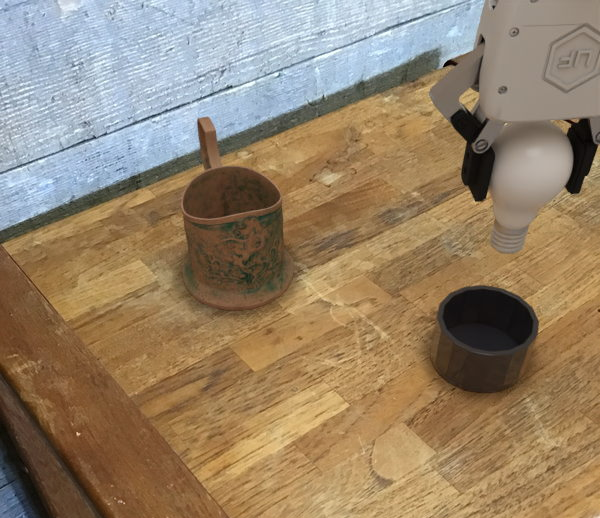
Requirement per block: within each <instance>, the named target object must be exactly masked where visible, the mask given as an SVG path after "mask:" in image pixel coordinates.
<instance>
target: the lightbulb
mask: <svg viewBox="0 0 600 518" xmlns="http://www.w3.org/2000/svg"><path fill="white" fill-rule="evenodd" d="M491 147H492V149H493V151H494V153H495V161H494V165H493V170H492V174H491V179H490V183H489V188H488V192H487V193H488V194H489V196H490V198H491V200H492V214H493V217H494V219H493V224H492V230H491V234H490V238H489V245H490V247H491V248H492V249H493V250H494V251H496V252H498V253H500V254H504V255H514V254H517V253H519V252H521V251H522V250H523V248H524V246H525V242H526V239H527V235H528V232H529V228H530V225H531V224H532V223H533V222H534V220H536V217H537V216H538V214H539V212H540V210H541V209H542V208H543V207H545V206H546V205H547V204H550V202H552V201H553V200H554V199H555V198H557V196H558V195H559V194H561V192H562V191H564V188H565V186H566V184H567V182H568V180H569V178H570V176H571V173H572V169H573V149H572V145H571V143H570V140H569V138H568V137H567V133H566V132H565V131H564V130H563V129H562V128H561V127H560V126H559V125H558V124H556V123H555V122H554V121H541V122H526V123H505V125H504V126H503V128H502V129H501V131H500V132H499V134H498V135H497V137H496V138H495V140H494V141H493V143H492V144H491Z"/></svg>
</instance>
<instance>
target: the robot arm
mask: <svg viewBox="0 0 600 518" xmlns="http://www.w3.org/2000/svg"><path fill="white" fill-rule="evenodd" d="M469 89H471V90H473V91H474V92H477V93H478V99H477V100H476V102H475V104H474V105H473V107H472V109H471V110H469V109H468V108H467V107H466V106H465V104H463V103H462V102H461V101H460V97H461V96H463V95H464V93H465V92H467V91H468V90H469ZM428 96H429V98H430V100H431V101H432V104H433V106H434V107H435V108H436V110H437V111H438V112H439V113H440V114H441V115H442V116H443V117H444V118H445V119H446V120H447V121H448V122H449V124H450V125H451V126H452V127H453V129H454V130H455V131H456V132H457V133H458V135H460V137H461V138H463V140H464V141H465V142H466V143H465V147H464V154H463V159H462V166H461V171H460V177H461V181H462V184H463V186H465V187H468V189H469V191H470V194H471V196H472V198H473V200H474V202H475V203H480V202H481V203H482V202H484V201H485V200H487V198H488V197H487V196H488V193H489V192H488V188H489V183H490V179H491V174H492V170H493V165H494V161H495V153H494V151H493V149H492V147H491V144H492V143H493V141H494V140H495V138H496V137H497V135H498V134H499V132H500V131H501V129H502V128H503V126H504V125H506V124H508V123H526V122H541V121H551V122H554V121H555V122H556V121H567V120H568V121H569V120H578V121H577V122H571V124H570V127H568V128H567V132H566V135H567V137H568V138H569V140H570V143H571V145H572V149H573V169H572V173H571V176H570V178H569V180H568V182H567V184H566V186H565V187H564V188H565V190H566V191H567V193H569V194H570V195H579V194H580V193H581V191H582V188H583V185H584V181H585V178H586V177H588V176H589V175H590V172H591V170H592V166H593V163H594V160H595V157H596V154H597V151H598V148H599V145H600V0H484V3H483V7H482V9H481V14H480V18H479V22H478V26H477V30H476V35H475V39H474V43H473V48H472V51H471V52H470V53H468V54H467V55H466V56H465V57H463V59H461V60H460V61H459V62H458V63H457V64H456V65H455V66H453V67H452V68H451V69H450V70H449V71H448V72H447V73H445V75H444V76H442V77H441V78H440V79H439V80H438V81H437V82H435V84H434V85H432V86H431V87H430V88H429V91H428Z"/></svg>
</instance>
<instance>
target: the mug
mask: <svg viewBox="0 0 600 518" xmlns="http://www.w3.org/2000/svg"><path fill="white" fill-rule="evenodd" d="M196 127H197V134H198V143H199V149H200V154H201V160H202V165H203V169H204V171H201V172H200V173H198V174H197V175H196V176H194V177H193V178H192V179H191V180H190V181H189V182H188V183H187V185H186V186H185V188H184V190H183V192H182V195H181V198H180V207H181V213H182V217H183V218H182V219H183V229H184V234H185V239H186V242H187V249H188V250H187V251H188V256H187V257H186V259H185V262H184V265H183V267H182V279H183V283H184V286H185V288H186V290H187V291H188V292H189V294H190V295H191V296H192V297H193V298H194V299H196V300H197V301H199V302H200V303H201V304H204V305H206V306H208V307H210V308H211V307H212V308H214V309H219V310H223V311H244V310H252V309H256V308H259V307H262V306H265V305H267V304H270V303H271V302H273V301H275V300H276V299H278V298H280V297H281V296H282V295H283V294H284V293H285V292H286V291H287V290H288V288H289V287H290V286H291V284H292V282H293V279H294V275H295V274H294V273H295V267H294V261H293V258H292V256H291V254H290V253H289V251H287V249H286V248H284V247H285V241H284V212H283V193H282V191H281V190H280V188H279V187H278V186H277V185H276V184H275V182H274V181H272V179H270V178H269V177H268V176H267V175H265V174H263V173H262V172H261V171H258V170H256V169H254V168H251V167H248V166H243V165H235V164H234V165H231V164H230V165H223V164H222V161H221V157H220V156H221V155H220V151H219V145H218V137H217V129H216V127H215V125H214V122H213V121H212V119H211V118H210V116H201V117H198V118H197V119H196Z"/></svg>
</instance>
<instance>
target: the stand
mask: <svg viewBox="0 0 600 518" xmlns="http://www.w3.org/2000/svg"><path fill="white" fill-rule="evenodd" d="M434 323H435V324H434V328H433V333H432V334H433V335H432V339H431V345H430V358H431V364H432V365H433V367H434V369H435V371H436V372H437V373H438V374H439V376H440V377H442V378H443V379H444V380H445V381H447V382H448V383H449V384H451V385H452V386H455V387H457V388H458V389H462V390H465V391H468V392H473V393H478V394H480V393H481V394H488V393H489V394H490V393H498V392H501V391H504V390H507V389H509V388H510V387H513V386H514V385H515V384H516V383H518V382H519V381H520V380H521V378H522V377H523V376H524V373H525V371H526V370H527V367H528V365H529V362H530V358H531V356H532V353H533V350H534V347H535V344H536V341H537V338H538V335H539V327H540V325H539V324H540V320H539V318H538V316H537V314H536V312H535V309H534V308H533V306H531V304H530V303H528V302H527V301H526V300H525V299H524V298H523V297H522V296H520V295H518V294H516V293H514V292H511V291H510V290H507V289H506V288H502V287H497V286H492V285H486V284H480V285H479V284H478V285H470V286H469V285H468V286H464V287H461V288H459V289H456V290H454V291H451V292H449V293H448V294H447V296H445V298H443V299H442V300H441V302H440V303H439V304H438V309H437V313H436V319H435V322H434Z"/></svg>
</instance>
